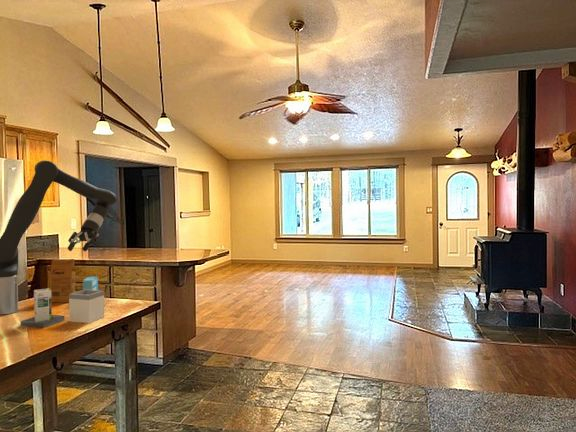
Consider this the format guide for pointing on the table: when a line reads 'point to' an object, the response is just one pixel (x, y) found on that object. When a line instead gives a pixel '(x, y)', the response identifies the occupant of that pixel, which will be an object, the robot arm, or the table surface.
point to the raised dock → (86, 306)
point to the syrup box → (42, 305)
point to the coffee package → (62, 280)
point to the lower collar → (32, 323)
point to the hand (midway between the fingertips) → (76, 250)
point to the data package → (90, 283)
